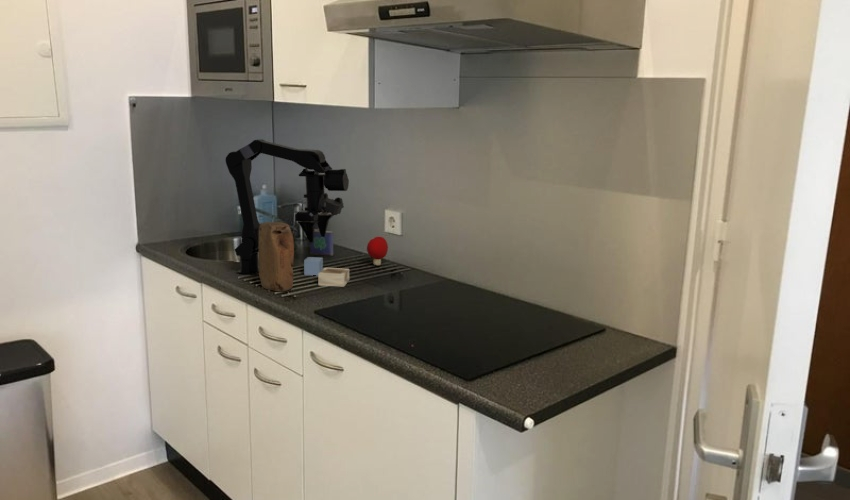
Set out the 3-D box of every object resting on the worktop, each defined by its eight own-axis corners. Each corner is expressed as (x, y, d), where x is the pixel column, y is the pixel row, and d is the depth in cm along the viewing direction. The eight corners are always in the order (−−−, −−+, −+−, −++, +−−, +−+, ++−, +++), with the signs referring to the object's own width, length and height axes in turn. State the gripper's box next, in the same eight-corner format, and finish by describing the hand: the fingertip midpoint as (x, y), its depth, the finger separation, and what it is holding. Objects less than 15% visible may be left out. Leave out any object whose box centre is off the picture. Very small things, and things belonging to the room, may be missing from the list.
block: (257, 286, 206) (255, 221, 202) (278, 282, 211) (277, 219, 207) (276, 294, 198) (275, 227, 194) (298, 289, 204) (297, 224, 199)
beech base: (324, 279, 217) (324, 267, 216) (349, 280, 216) (349, 268, 215) (318, 286, 209) (318, 273, 208) (343, 287, 209) (343, 274, 208)
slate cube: (308, 271, 226) (307, 257, 225) (322, 272, 225) (322, 257, 224) (304, 275, 221) (304, 260, 220) (319, 276, 221) (319, 261, 219)
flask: (334, 254, 251) (334, 226, 248) (331, 256, 248) (330, 227, 246) (311, 252, 253) (311, 224, 251) (308, 254, 251) (307, 225, 248)
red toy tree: (372, 262, 241) (372, 234, 239) (391, 264, 239) (391, 236, 237) (362, 268, 232) (363, 239, 230) (382, 270, 230) (382, 241, 228)
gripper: (327, 194, 202) (329, 246, 205) (350, 187, 219) (351, 235, 223) (293, 194, 205) (295, 244, 208) (318, 187, 222) (320, 233, 226)
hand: (317, 239), depth 216 cm, fingers open, 9 cm apart
